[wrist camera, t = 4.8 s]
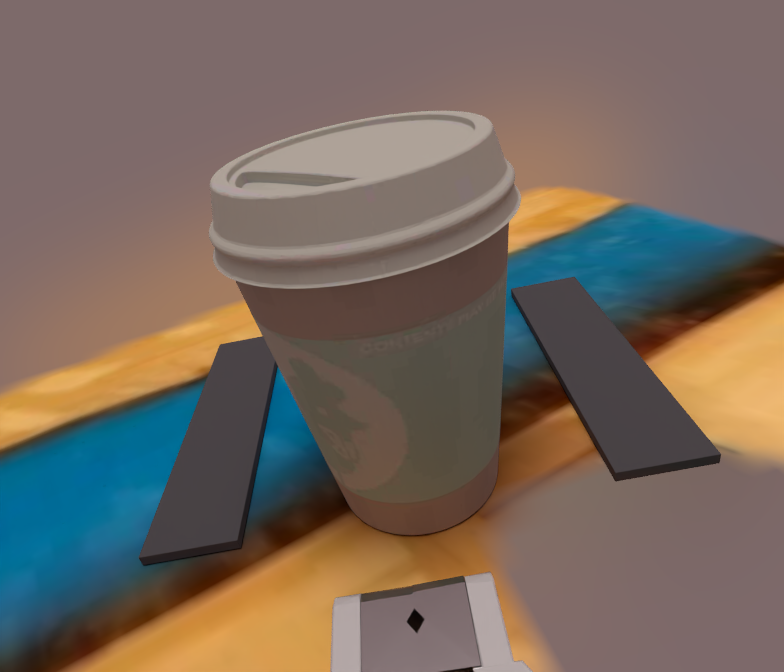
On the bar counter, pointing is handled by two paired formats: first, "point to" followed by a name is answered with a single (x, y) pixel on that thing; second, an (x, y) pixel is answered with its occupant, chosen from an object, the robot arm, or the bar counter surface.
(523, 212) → the bar counter surface
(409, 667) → the robot arm
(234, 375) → the gutter strips
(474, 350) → the coffee cup
